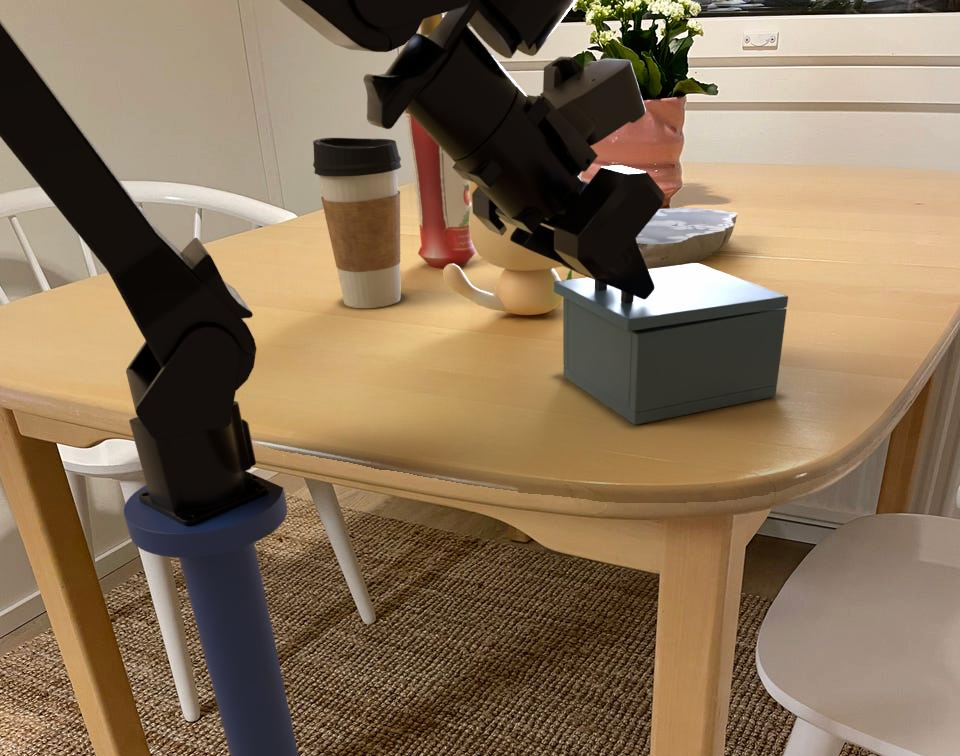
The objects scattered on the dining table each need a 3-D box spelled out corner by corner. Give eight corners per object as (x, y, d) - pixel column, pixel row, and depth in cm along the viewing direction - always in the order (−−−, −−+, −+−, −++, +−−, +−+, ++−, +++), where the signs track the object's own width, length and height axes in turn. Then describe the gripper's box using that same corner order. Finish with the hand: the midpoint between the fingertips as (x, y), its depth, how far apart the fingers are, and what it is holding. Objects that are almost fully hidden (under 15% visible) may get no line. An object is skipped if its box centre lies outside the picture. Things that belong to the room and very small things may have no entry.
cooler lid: (627, 331, 63) (631, 262, 61) (553, 292, 72) (553, 230, 70) (787, 307, 67) (796, 241, 64) (696, 273, 76) (702, 213, 73)
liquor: (437, 254, 115) (417, -29, 99) (490, 257, 112) (478, -33, 96) (405, 268, 110) (378, -28, 94) (460, 272, 107) (442, -33, 91)
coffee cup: (336, 292, 102) (316, 135, 94) (415, 288, 102) (401, 130, 94) (327, 314, 95) (303, 147, 87) (411, 309, 95) (396, 141, 87)
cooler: (634, 425, 67) (638, 334, 64) (562, 376, 76) (562, 294, 73) (775, 397, 70) (787, 308, 67) (690, 353, 80) (696, 273, 76)
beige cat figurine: (624, 304, 93) (630, 131, 84) (588, 333, 85) (590, 147, 77) (486, 293, 99) (479, 131, 90) (441, 320, 91) (429, 146, 83)
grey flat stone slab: (625, 229, 121) (625, 204, 120) (754, 238, 113) (757, 211, 112) (549, 264, 108) (549, 236, 106) (690, 277, 100) (692, 247, 98)
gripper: (645, 5, 50) (790, 212, 59) (509, 9, 64) (642, 174, 74) (509, 183, 52) (669, 356, 61) (406, 148, 67) (549, 291, 76)
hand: (631, 285), depth 68 cm, fingers closed on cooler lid, 5 cm apart
